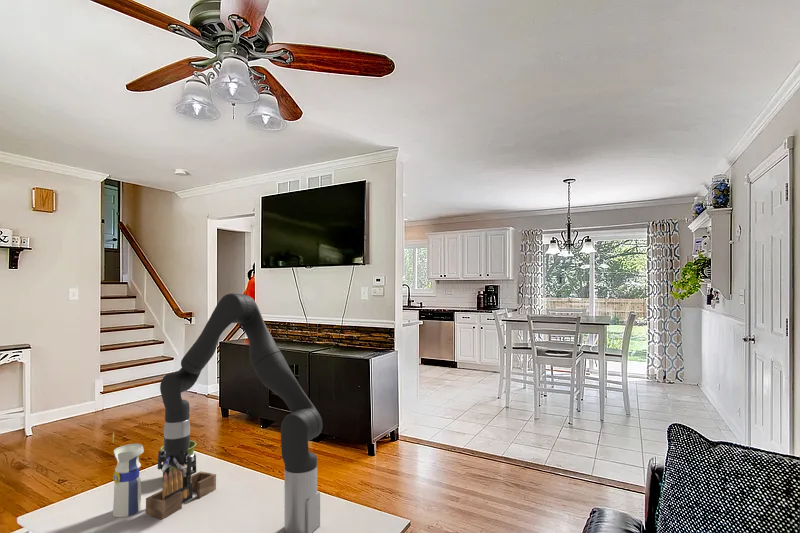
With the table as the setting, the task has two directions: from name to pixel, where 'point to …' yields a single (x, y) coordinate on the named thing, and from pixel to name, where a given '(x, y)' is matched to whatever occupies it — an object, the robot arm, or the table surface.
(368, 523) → the table surface
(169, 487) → the ammunition clip
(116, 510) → the water bottle
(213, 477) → the end cap
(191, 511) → the table surface
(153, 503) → the end cap
